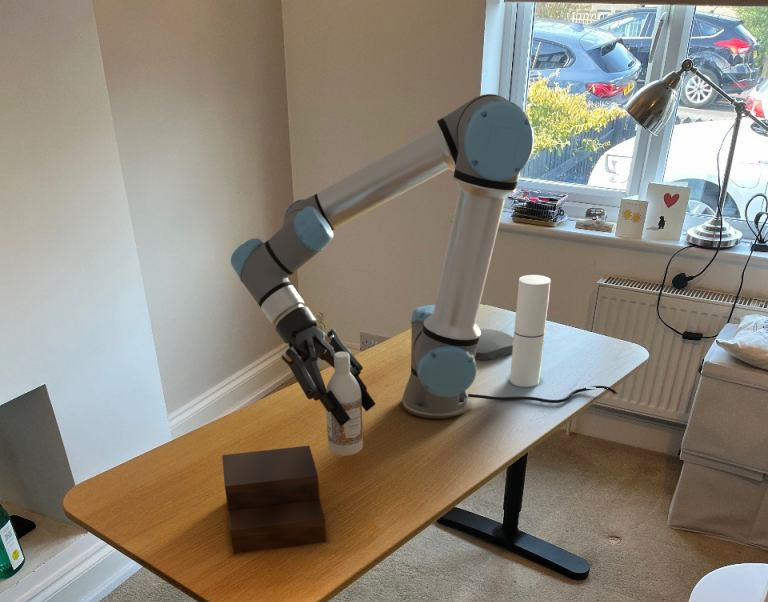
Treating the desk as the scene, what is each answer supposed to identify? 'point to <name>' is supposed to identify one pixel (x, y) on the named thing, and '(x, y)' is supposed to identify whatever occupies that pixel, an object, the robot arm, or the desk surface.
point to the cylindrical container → (529, 329)
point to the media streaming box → (493, 344)
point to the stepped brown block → (273, 499)
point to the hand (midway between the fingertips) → (358, 415)
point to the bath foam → (349, 396)
